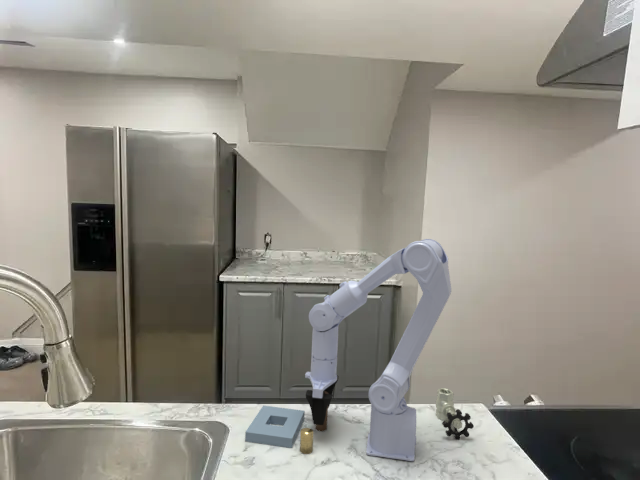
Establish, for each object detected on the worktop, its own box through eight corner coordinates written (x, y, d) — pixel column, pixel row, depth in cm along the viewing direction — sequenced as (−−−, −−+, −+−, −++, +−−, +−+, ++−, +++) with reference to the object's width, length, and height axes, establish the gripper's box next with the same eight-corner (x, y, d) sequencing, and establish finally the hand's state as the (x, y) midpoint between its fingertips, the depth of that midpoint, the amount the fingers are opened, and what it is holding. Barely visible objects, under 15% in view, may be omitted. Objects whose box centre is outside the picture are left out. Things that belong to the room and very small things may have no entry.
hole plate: (304, 419, 96) (304, 410, 96) (291, 447, 84) (292, 438, 84) (263, 413, 98) (263, 405, 97) (245, 441, 86) (245, 431, 86)
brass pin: (313, 447, 85) (314, 428, 84) (311, 454, 82) (312, 435, 82) (301, 445, 85) (302, 427, 85) (298, 453, 83) (299, 433, 82)
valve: (427, 412, 102) (442, 440, 90) (429, 386, 101) (444, 410, 89) (454, 413, 102) (472, 441, 90) (456, 387, 101) (474, 411, 89)
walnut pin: (327, 426, 93) (329, 391, 93) (325, 432, 91) (327, 396, 90) (316, 424, 94) (318, 390, 93) (314, 430, 91) (315, 395, 91)
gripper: (312, 343, 99) (310, 398, 100) (299, 365, 84) (296, 429, 86) (342, 346, 98) (339, 402, 99) (333, 369, 83) (330, 434, 84)
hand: (321, 415), depth 92 cm, fingers open, 7 cm apart
